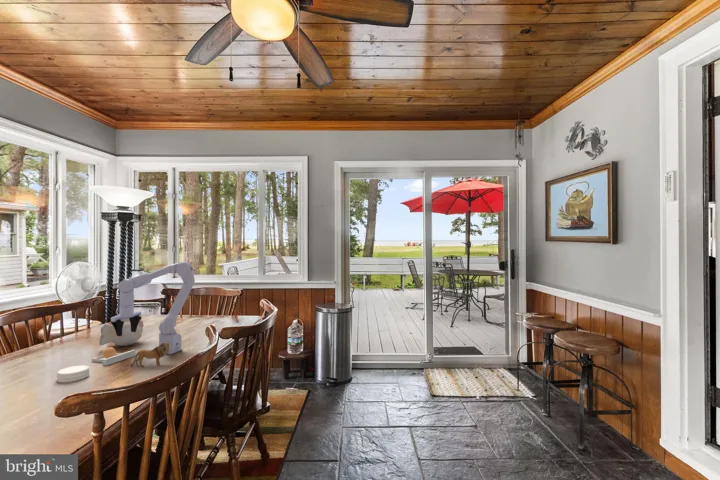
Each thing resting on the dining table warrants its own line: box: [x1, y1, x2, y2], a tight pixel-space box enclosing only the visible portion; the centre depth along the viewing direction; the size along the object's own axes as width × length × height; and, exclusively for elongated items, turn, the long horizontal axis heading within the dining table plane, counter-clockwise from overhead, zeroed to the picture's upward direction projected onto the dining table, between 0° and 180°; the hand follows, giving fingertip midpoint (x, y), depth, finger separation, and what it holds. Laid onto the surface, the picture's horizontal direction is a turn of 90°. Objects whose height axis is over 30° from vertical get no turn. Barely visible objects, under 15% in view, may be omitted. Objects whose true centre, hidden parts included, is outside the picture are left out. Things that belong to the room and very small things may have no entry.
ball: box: [102, 346, 117, 359], centre depth 163 cm, size 5×5×5 cm
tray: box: [91, 352, 120, 364], centre depth 163 cm, size 9×9×1 cm
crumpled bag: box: [98, 318, 144, 347], centre depth 186 cm, size 16×19×15 cm
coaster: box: [56, 365, 90, 383], centre depth 141 cm, size 10×10×4 cm
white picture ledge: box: [102, 349, 137, 367], centre depth 162 cm, size 2×15×2 cm, turn 165°
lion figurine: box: [130, 342, 169, 368], centre depth 156 cm, size 15×5×9 cm, turn 118°
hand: (126, 333), depth 169 cm, fingers open, 7 cm apart
